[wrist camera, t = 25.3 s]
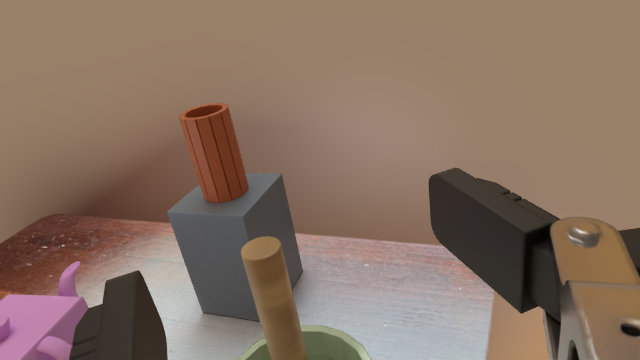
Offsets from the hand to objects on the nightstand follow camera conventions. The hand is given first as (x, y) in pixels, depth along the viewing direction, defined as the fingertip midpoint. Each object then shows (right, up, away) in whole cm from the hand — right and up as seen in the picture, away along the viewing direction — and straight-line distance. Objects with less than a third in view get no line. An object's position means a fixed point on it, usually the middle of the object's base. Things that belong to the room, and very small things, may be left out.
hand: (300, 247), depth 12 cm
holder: (-6, -10, +36) cm, 37 cm away
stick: (0, -16, +19) cm, 25 cm away
